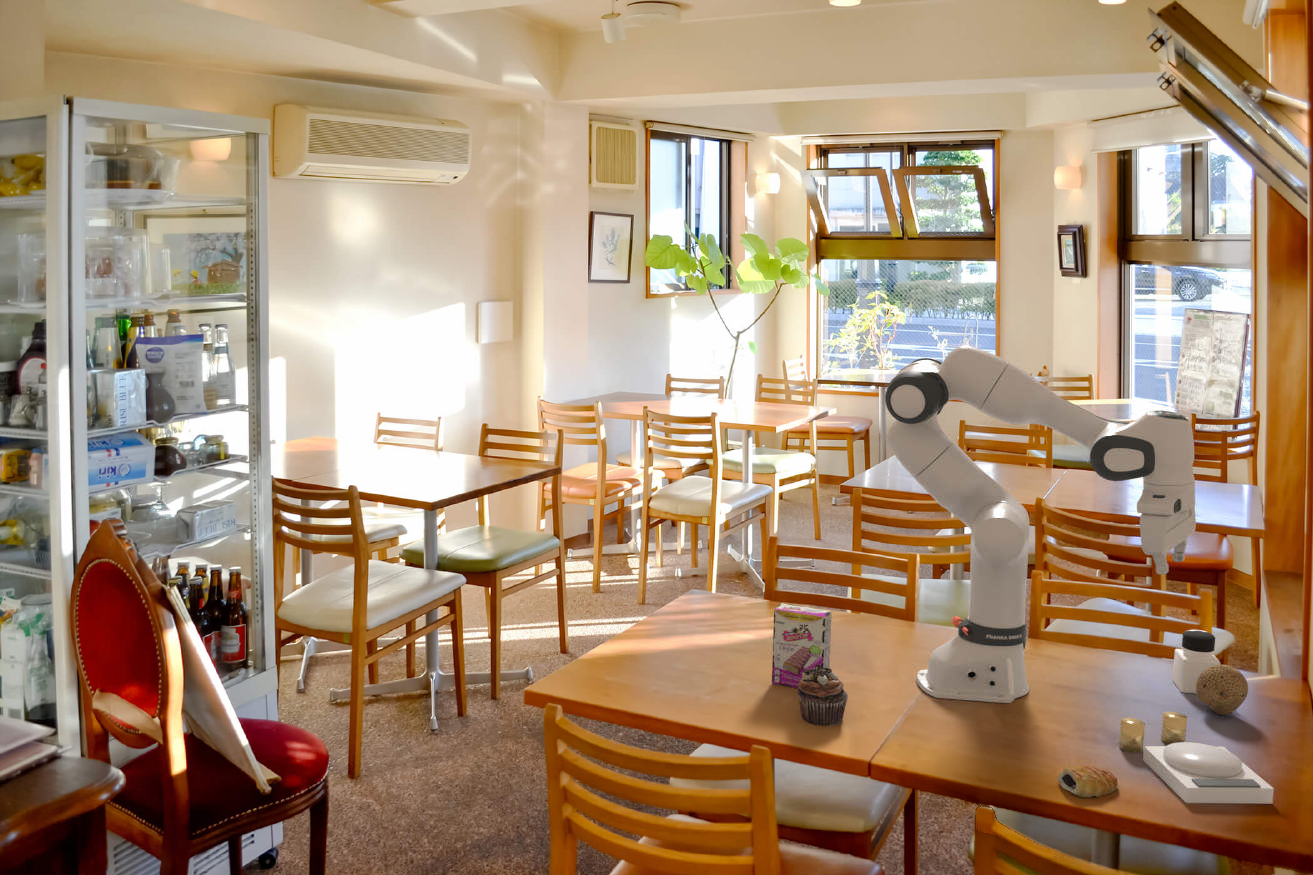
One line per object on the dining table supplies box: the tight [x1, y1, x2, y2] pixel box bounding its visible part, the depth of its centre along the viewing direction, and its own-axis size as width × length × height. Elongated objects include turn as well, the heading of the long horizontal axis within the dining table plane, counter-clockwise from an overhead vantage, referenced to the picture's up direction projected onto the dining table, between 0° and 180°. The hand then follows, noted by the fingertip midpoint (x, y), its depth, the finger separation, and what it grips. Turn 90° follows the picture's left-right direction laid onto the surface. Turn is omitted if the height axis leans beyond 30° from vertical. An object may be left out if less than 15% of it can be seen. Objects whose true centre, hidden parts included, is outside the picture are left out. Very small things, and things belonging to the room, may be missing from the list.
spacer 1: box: [1118, 717, 1146, 754], centre depth 199 cm, size 4×4×5 cm
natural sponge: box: [1195, 664, 1249, 716], centre depth 214 cm, size 9×9×10 cm
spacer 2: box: [1160, 711, 1188, 746], centre depth 202 cm, size 4×4×5 cm
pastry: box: [1057, 764, 1119, 799], centre depth 183 cm, size 9×7×4 cm
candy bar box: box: [771, 603, 832, 689], centre depth 228 cm, size 11×5×16 cm, turn 65°
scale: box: [1142, 741, 1274, 805], centre depth 186 cm, size 14×16×4 cm
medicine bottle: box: [1172, 629, 1222, 694], centre depth 228 cm, size 7×7×12 cm
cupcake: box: [796, 665, 849, 727], centre depth 212 cm, size 10×10×10 cm
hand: (1170, 567), depth 210 cm, fingers open, 8 cm apart
